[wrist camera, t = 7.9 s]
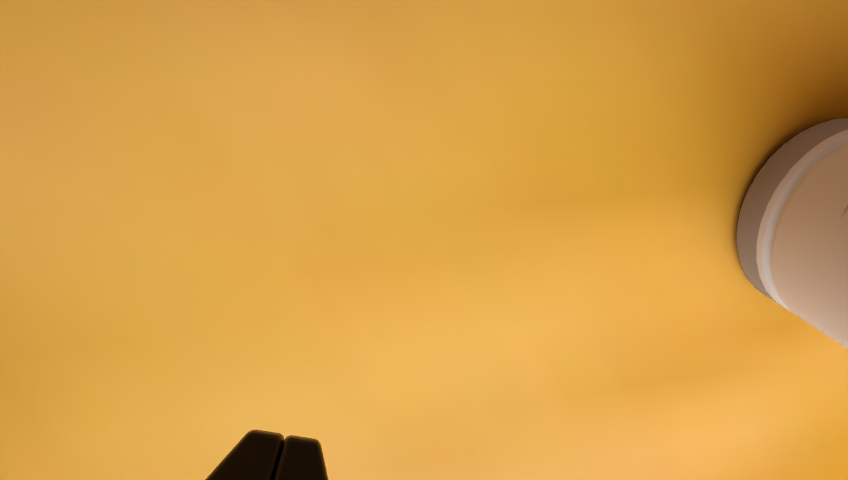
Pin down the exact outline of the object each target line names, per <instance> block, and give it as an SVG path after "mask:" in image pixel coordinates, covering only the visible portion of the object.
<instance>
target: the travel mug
mask: <svg viewBox="0 0 848 480" xmlns="http://www.w3.org/2000/svg"><path fill="white" fill-rule="evenodd" d="M737 251H738V255H739V260H740V265H741V267H742V269H743V271H744V273H745V275H746V277H747V279H748V280H749V281H750V282H751V283H752V285H753V286H754V287H755V288H756V289H758V290H759V291H760V292H762V293H763V294H765V295H766V296H768V297H769V298H771V299H772V300H774V301H775V302H777V303H778V304H780V305H781V306H783V307H785V308H786V309H788V310H789V311H791V312H792V313H794V314H795V315H797V316H798V317H800V318H801V319H803V320H804V321H806V322H807V323H809V324H810V325H812V326H813V327H815V328H816V329H818V330H819V331H821V332H822V333H824V334H825V335H827V336H829V337H830V338H832V339H833V340H835V341H836V342H838V343H839V344H841V345H842V346H844V347H845V348H847V349H848V118H839V119H833V120H830V121H826V122H822V123H819V124H817V125H815V126H812V127H810V128H808V129H806V130H804V131H802V132H800V133H799V134H797V135H796V136H794V137H793V138H792V139H790V140H789V141H787V142H786V143H785V144H783V145H782V146H781V147H780V148H779V149H778V150H777V151H776V152H775V153H774V154H773V155H772V156H771V157H770V158H769V159H768V160H767V162H766V163H765V164H764V166H763V167H762V168H761V170H760V171H759V172H758V174H757V175H756V177H755V179H754V180H753V182H752V184H751V186H750V188H749V189H748V191H747V193H746V196H745V199H744V202H743V204H742V207H741V210H740V214H739V219H738V224H737Z"/></svg>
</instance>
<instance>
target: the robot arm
mask: <svg viewBox="0 0 848 480" xmlns="http://www.w3.org/2000/svg"><path fill="white" fill-rule="evenodd" d="M206 480H328V476H327V471H326V467H325V462H324V457H323V453H322V448H321V445H320V443H319V441H318V440H316V439H312V438H306V437H299V436H293V435H291V436H288V437H286V439H285V440H284V437H283V436H282V435H281V434H279V433H274V432H268V431H261V430H252V431H250V432H248V433H247V434H246V435H245V436H244V437H243V438H242V439H241V440H240V442H239V443H238V444H237V445H236V446H235V447H234V448H233V449H232V451H231V452H230V453H229V454H228V455H227V456H226V457H225V458H224V459H223V461H222V462H221V463H220V464H219V465H218V466H217V467H216V468H215V470H214V471H213V472H212V473H211V474H210V475H209V476H208V477H207V479H206Z"/></svg>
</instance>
